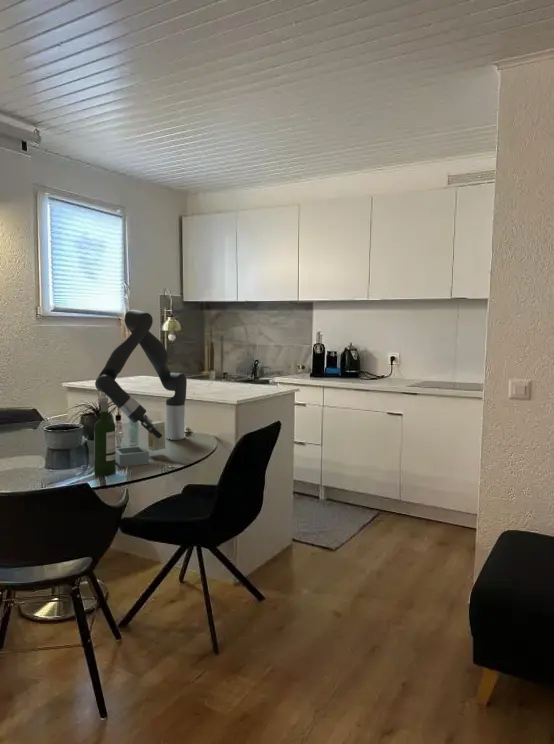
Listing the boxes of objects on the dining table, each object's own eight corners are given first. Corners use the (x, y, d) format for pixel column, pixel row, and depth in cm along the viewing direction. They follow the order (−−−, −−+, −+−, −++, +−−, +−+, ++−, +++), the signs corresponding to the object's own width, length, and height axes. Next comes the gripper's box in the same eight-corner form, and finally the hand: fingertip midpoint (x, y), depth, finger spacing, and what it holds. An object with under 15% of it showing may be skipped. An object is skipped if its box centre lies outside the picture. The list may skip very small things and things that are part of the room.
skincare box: (160, 446, 243) (160, 420, 242) (165, 448, 240) (165, 421, 239) (147, 449, 239) (147, 422, 237) (152, 451, 235) (152, 423, 234)
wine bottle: (114, 475, 208) (113, 398, 205) (92, 476, 206) (91, 399, 203) (116, 470, 215) (116, 395, 212) (96, 470, 214) (95, 395, 211)
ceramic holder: (113, 459, 230) (112, 448, 229) (141, 456, 236) (141, 445, 235) (119, 467, 220) (119, 455, 219) (148, 463, 225) (148, 452, 225)
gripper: (139, 406, 228) (167, 432, 232) (139, 400, 242) (165, 425, 246) (126, 419, 227) (154, 445, 232) (126, 412, 241) (153, 437, 245)
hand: (160, 435), depth 239 cm, fingers closed on skincare box, 6 cm apart
